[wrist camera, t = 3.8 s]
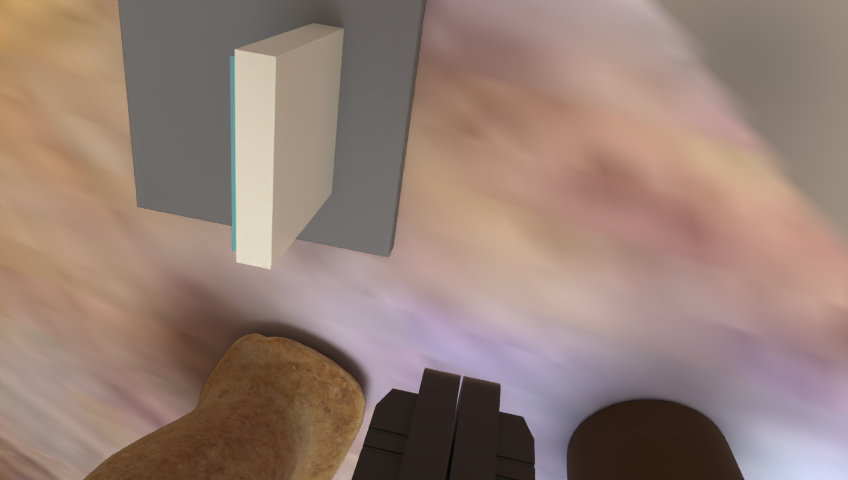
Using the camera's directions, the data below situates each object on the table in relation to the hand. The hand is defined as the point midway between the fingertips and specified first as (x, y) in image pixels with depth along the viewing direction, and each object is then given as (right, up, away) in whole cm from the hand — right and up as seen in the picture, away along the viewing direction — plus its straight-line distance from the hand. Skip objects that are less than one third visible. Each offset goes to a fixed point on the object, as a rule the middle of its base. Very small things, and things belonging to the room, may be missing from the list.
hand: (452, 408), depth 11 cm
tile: (-5, +9, +16) cm, 20 cm away
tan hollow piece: (-11, -8, +27) cm, 30 cm away
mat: (-8, +10, +18) cm, 22 cm away
